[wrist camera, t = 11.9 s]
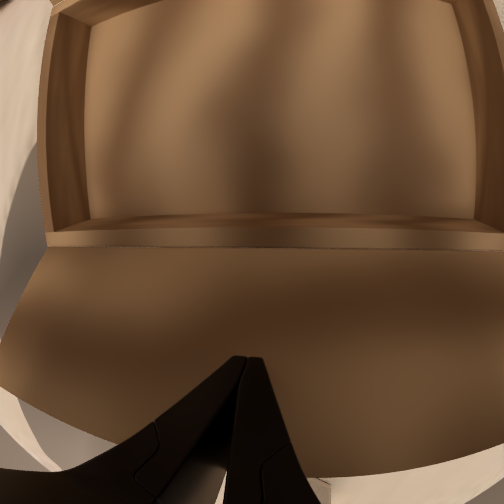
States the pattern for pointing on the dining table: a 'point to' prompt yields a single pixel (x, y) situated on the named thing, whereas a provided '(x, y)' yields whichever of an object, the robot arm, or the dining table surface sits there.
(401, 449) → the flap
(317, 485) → the syrup box
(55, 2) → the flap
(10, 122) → the dining table surface
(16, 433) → the dining table surface
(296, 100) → the carton
